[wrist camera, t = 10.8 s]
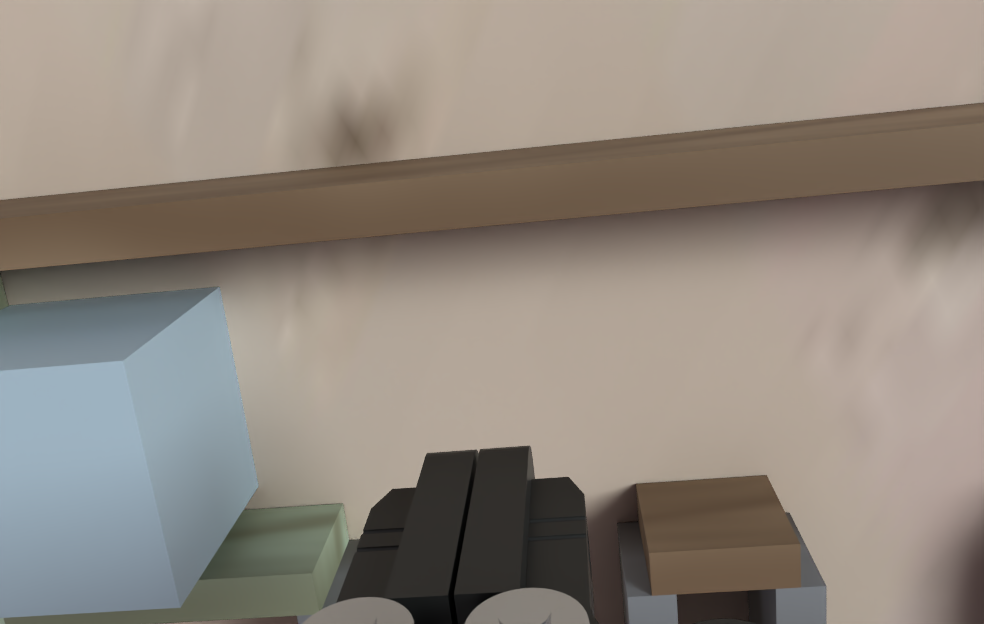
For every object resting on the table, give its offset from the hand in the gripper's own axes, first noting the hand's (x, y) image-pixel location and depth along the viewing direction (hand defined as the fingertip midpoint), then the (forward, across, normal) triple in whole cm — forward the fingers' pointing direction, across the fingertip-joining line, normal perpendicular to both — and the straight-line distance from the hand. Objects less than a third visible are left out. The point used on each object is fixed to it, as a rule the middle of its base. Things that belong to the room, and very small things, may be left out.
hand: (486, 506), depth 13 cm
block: (+8, +9, +1) cm, 12 cm away
